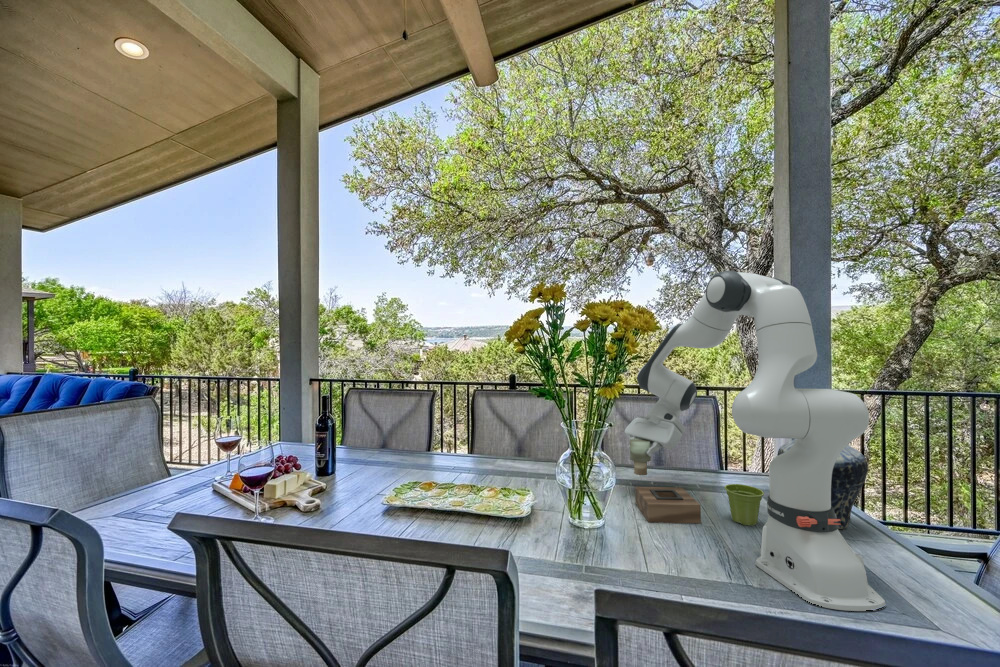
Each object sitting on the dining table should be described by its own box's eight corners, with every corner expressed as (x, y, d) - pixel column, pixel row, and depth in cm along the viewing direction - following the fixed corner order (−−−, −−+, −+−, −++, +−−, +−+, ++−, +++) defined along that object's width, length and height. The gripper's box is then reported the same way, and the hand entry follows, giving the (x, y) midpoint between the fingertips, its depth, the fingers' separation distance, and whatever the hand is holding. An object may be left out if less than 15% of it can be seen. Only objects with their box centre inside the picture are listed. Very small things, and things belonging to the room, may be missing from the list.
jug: (891, 540, 104) (887, 418, 105) (811, 540, 105) (808, 418, 105) (827, 507, 125) (825, 406, 126) (761, 507, 125) (759, 406, 126)
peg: (653, 476, 133) (652, 442, 133) (632, 476, 133) (632, 442, 134) (647, 470, 139) (647, 438, 140) (628, 470, 140) (627, 438, 140)
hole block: (700, 523, 115) (700, 503, 115) (648, 522, 116) (648, 502, 116) (682, 503, 129) (681, 486, 129) (635, 503, 130) (635, 485, 130)
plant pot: (753, 514, 120) (753, 484, 121) (771, 529, 111) (771, 496, 111) (719, 513, 121) (719, 483, 121) (734, 528, 112) (733, 495, 112)
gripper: (633, 409, 149) (612, 439, 145) (679, 417, 131) (656, 452, 126) (643, 421, 151) (622, 451, 147) (690, 430, 132) (668, 466, 128)
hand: (638, 452), depth 136 cm, fingers closed on peg, 6 cm apart
